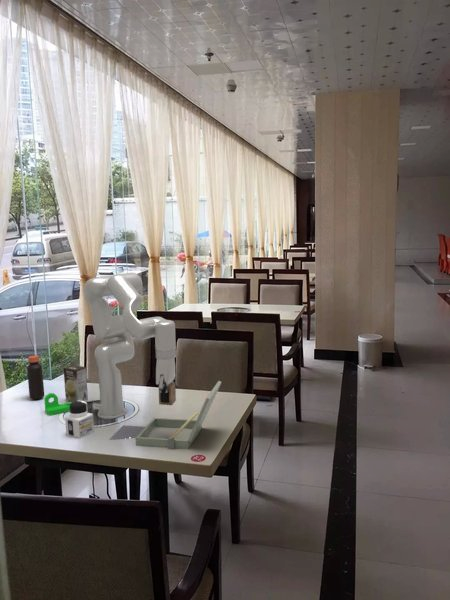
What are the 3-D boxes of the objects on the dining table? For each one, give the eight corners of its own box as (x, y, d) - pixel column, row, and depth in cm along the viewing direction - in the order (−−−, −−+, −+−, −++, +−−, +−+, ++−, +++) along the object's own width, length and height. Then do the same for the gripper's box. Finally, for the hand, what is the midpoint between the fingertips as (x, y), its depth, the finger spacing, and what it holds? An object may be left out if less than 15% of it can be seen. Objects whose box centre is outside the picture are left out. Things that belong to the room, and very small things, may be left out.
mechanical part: (48, 415, 230) (47, 398, 228) (45, 411, 235) (43, 394, 233) (76, 409, 236) (74, 392, 234) (72, 405, 241) (71, 389, 240)
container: (79, 439, 203) (77, 407, 201) (66, 435, 207) (63, 403, 205) (94, 432, 209) (92, 400, 207) (80, 428, 213) (78, 397, 211)
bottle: (41, 399, 251) (38, 358, 248) (27, 399, 251) (23, 358, 248) (46, 394, 257) (43, 354, 254) (32, 394, 257) (29, 355, 254)
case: (134, 448, 193) (131, 395, 190) (154, 426, 214) (151, 378, 211) (210, 453, 187) (208, 399, 184) (223, 429, 208) (221, 380, 205)
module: (159, 404, 198) (158, 385, 197) (163, 399, 203) (162, 380, 202) (171, 405, 197) (171, 385, 196) (175, 400, 202) (175, 381, 201)
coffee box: (65, 400, 247) (62, 367, 245) (75, 396, 253) (73, 364, 250) (78, 404, 242) (76, 370, 240) (89, 399, 248) (86, 366, 245)
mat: (108, 440, 201) (108, 439, 201) (123, 426, 214) (123, 425, 214) (136, 442, 198) (136, 441, 198) (148, 427, 212) (148, 426, 212)
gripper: (163, 347, 206) (165, 391, 209) (148, 359, 189) (150, 407, 193) (181, 347, 204) (183, 392, 207) (168, 360, 188) (169, 408, 191)
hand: (167, 399), depth 200 cm, fingers closed on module, 5 cm apart
